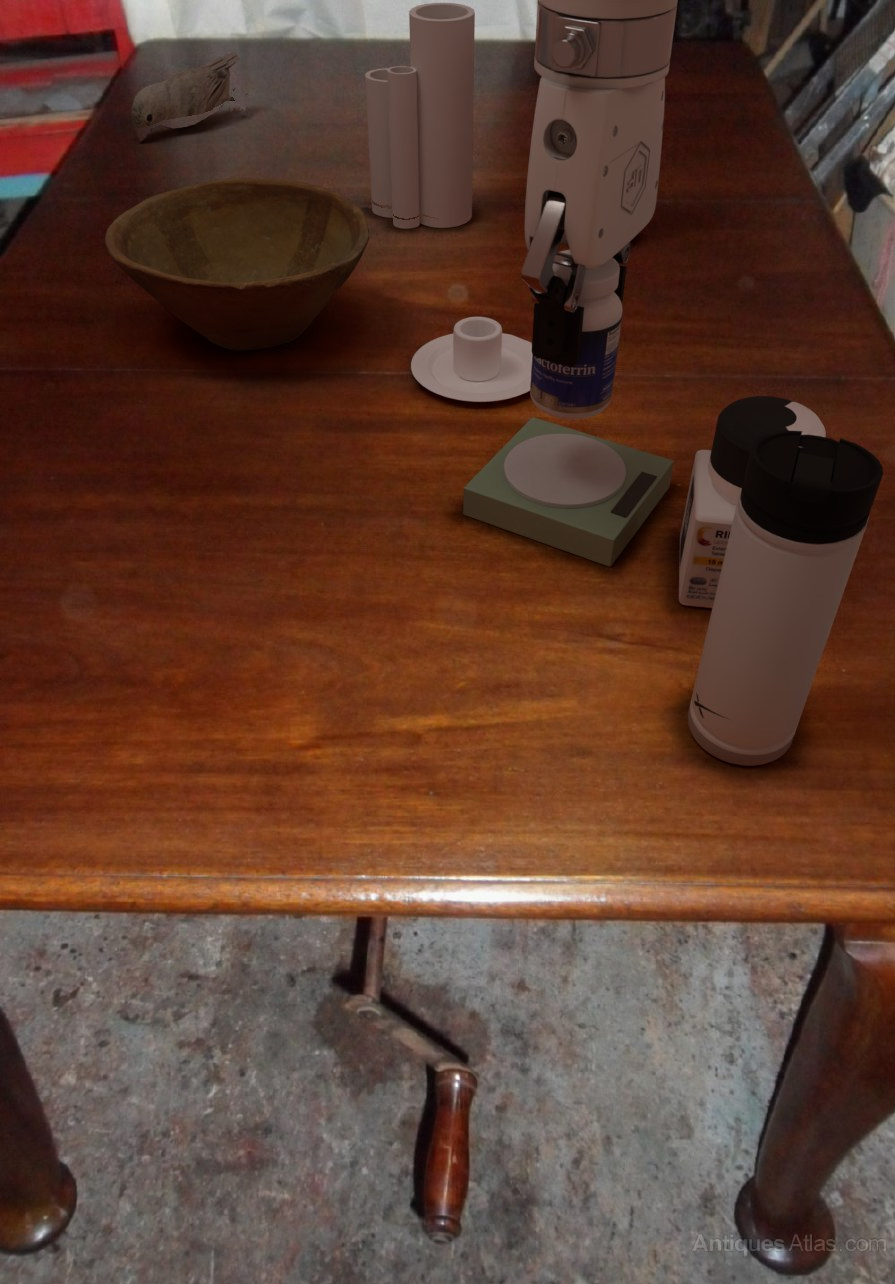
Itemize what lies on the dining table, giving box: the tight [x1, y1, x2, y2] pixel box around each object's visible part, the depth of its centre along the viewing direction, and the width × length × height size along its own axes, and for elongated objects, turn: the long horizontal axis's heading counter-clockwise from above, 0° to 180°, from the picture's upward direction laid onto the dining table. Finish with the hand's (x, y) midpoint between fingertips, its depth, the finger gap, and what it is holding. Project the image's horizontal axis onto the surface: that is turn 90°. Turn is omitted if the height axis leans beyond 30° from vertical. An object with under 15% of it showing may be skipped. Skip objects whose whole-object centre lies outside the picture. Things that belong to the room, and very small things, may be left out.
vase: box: [364, 2, 476, 230], centre depth 111 cm, size 11×7×20 cm, turn 85°
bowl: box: [104, 177, 370, 352], centre depth 96 cm, size 22×23×10 cm
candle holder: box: [410, 316, 532, 403], centre depth 92 cm, size 12×12×4 cm
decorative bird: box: [131, 51, 248, 128], centre depth 135 cm, size 5×16×7 cm, turn 133°
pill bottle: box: [529, 249, 624, 420], centre depth 71 cm, size 6×6×10 cm
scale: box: [462, 416, 675, 568], centre depth 79 cm, size 12×11×3 cm
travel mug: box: [687, 431, 884, 767], centre depth 57 cm, size 6×7×20 cm
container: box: [678, 395, 827, 609], centre depth 70 cm, size 8×8×13 cm
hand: (576, 336), depth 71 cm, fingers closed on pill bottle, 5 cm apart
